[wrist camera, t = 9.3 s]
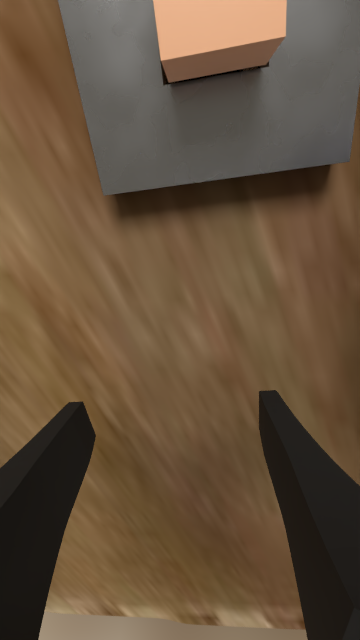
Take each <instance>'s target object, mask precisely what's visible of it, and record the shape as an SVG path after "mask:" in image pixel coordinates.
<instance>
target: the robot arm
mask: <svg viewBox="0 0 360 640" xmlns="http://www.w3.org/2000/svg"><path fill="white" fill-rule="evenodd" d="M259 430H260V435H261V441H262V446H263V451H264V456H265V459H266V463H267V466H268V469H269V473H270V476H271V480H272V483H273V486H274V490H275V493H276V496H277V500H278V503H279V507H280V510H281V513H282V517H283V521H284V525H285V528H286V533H287V538H288V543H289V547H290V552H291V557H292V562H293V567H294V572H295V577H296V582H297V587H298V592H299V596H300V602H301V607H302V612H303V617H304V622H305V628H306V632H307V638H308V640H360V486H359V485H358V484H357V483H356V482H355V481H354V480H353V479H352V478H351V477H350V476H348V475H347V474H346V473H345V472H344V471H343V470H342V469H341V468H340V467H339V466H338V465H337V464H336V463H335V462H334V461H333V460H332V459H331V458H330V457H329V455H328V454H327V453H326V452H325V451H324V450H323V449H322V448H321V447H320V446H319V445H318V443H317V442H316V441H315V440H314V439H313V438H312V437H311V435H310V434H309V433H308V432H307V431H306V429H305V428H304V427H303V426H302V425H301V423H300V422H299V421H298V420H297V418H296V417H295V416H294V414H293V413H292V412H291V410H290V409H289V408H288V406H287V405H286V404H285V402H284V401H283V399H282V398H281V396H280V395H279V393H278V392H277V391H276V390H271V391H259ZM95 437H96V435H95V432H94V430H93V427H92V424H91V422H90V419H89V416H88V414H87V411H86V409H85V406H84V403H83V402H69V403H68V404H67V405H66V406H65V407H64V408H63V409H62V410H61V411H60V412H59V413H58V414H57V415H56V416H55V417H54V418H53V419H52V420H51V421H50V422H49V423H48V424H47V425H46V426H45V427H44V428H43V429H42V430H41V431H40V432H39V433H38V434H37V435H35V436H34V437H33V438H32V439H31V440H30V441H29V442H28V443H27V444H26V445H25V446H24V447H23V448H22V449H21V450H20V451H19V452H18V453H17V454H15V455H14V456H13V457H12V458H11V459H10V460H9V461H8V462H7V463H6V464H5V465H3V466H2V467H1V468H0V640H38V638H39V632H40V628H41V623H42V619H43V615H44V610H45V606H46V601H47V597H48V592H49V588H50V584H51V580H52V576H53V572H54V568H55V564H56V560H57V557H58V553H59V549H60V546H61V542H62V538H63V535H64V531H65V528H66V525H67V522H68V519H69V516H70V513H71V511H72V508H73V505H74V503H75V500H76V497H77V495H78V492H79V489H80V487H81V484H82V481H83V479H84V476H85V473H86V470H87V468H88V465H89V462H90V458H91V455H92V451H93V446H94V442H95Z"/></svg>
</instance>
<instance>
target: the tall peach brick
mask: <svg viewBox="0 0 360 640" xmlns="http://www.w3.org/2000/svg"><path fill="white" fill-rule="evenodd" d="M153 3H154V11H155V19H156V27H157V35H158V42H159V50H160V58H161V63H162V65H163V68H164V71H165V74H166V76H167V79H168V82H169V83H170V82H175V81H181V80H186V79H191V78H197V77H202V76H207V75H213V74H218V73H223V72H229V71H234V70H239V69H245V68H250V67H256V66H261V65H266V64H267V62H268V61H269V60H270V58H271V57H272V55H273V54H274V52H275V51H276V50H277V48H278V47H279V45H280V44H281V42H282V41H283V40H284V38H285V37H286V7H287V0H153Z"/></svg>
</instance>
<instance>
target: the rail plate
mask: <svg viewBox="0 0 360 640" xmlns="http://www.w3.org/2000/svg"><path fill="white" fill-rule="evenodd" d="M58 2H59V7H60V11H61V15H62V19H63V24H64V28H65V32H66V37H67V41H68V45H69V49H70V54H71V58H72V62H73V67H74V71H75V75H76V79H77V84H78V88H79V92H80V97H81V101H82V105H83V109H84V114H85V118H86V122H87V127H88V131H89V135H90V139H91V144H92V148H93V152H94V157H95V161H96V165H97V169H98V174H99V178H100V182H101V187H102V191H103V195H111V194H118V193H126V192H133V191H140V190H147V189H155V188H162V187H169V186H176V185H184V184H191V183H198V182H205V181H212V180H220V179H227V178H234V177H241V176H249V175H256V174H263V173H270V172H278V171H285V170H292V169H299V168H306V167H314V166H321V165H328V164H335V163H343V162H349V161H350V153H351V145H352V138H353V130H354V122H355V114H356V107H357V99H358V91H359V84H360V0H287V7H286V37H285V38H284V40H283V41H282V42H281V44H280V45H279V47H278V48H277V50H276V51H275V52H274V54H273V55H272V57H271V58H270V60H269V61H268V62H267V64H266V65H261V66H260V68H259V69H253V70H247V71H242V72H236V73H231V74H225V75H219V76H214V77H208V78H202V79H197V80H191V81H185V82H180V83H174V84H168V85H166V78H165V71H164V68H163V65H162V63H161V58H160V50H159V42H158V35H157V27H156V19H155V11H154V3H153V0H58Z"/></svg>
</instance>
